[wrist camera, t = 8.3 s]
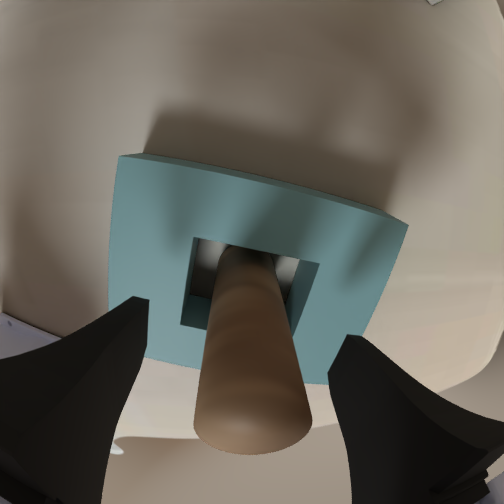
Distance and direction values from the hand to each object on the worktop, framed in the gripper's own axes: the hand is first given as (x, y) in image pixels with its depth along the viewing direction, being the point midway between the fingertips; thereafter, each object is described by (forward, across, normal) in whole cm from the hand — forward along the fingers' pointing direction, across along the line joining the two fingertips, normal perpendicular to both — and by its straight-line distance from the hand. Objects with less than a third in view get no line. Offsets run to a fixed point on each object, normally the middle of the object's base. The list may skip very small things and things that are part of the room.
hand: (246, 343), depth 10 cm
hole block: (+6, 0, 0) cm, 6 cm away
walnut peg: (+6, 0, 0) cm, 6 cm away
